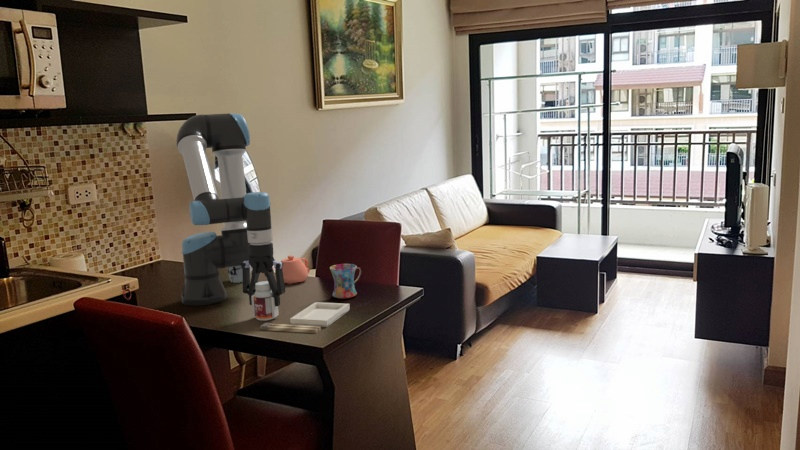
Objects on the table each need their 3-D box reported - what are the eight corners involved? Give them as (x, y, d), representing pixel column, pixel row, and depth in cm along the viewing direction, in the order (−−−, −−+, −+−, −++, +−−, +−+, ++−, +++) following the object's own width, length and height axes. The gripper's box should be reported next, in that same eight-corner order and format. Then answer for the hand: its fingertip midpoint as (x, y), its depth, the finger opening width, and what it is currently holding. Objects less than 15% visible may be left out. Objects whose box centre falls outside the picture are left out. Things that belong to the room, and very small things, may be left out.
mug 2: (341, 301, 218) (339, 271, 216) (326, 296, 225) (324, 267, 223) (369, 294, 225) (368, 264, 224) (354, 290, 232) (352, 261, 231)
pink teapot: (270, 282, 250) (268, 256, 248) (301, 275, 259) (299, 250, 257) (286, 287, 241) (285, 260, 239) (318, 280, 249) (316, 254, 248)
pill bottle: (252, 319, 202) (249, 283, 200) (267, 314, 207) (265, 279, 205) (264, 322, 198) (261, 286, 196) (280, 317, 203) (277, 282, 201)
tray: (290, 325, 194) (290, 318, 194) (315, 308, 211) (315, 302, 211) (327, 327, 191) (327, 320, 191) (349, 309, 208) (349, 303, 208)
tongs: (260, 329, 191) (260, 325, 191) (265, 326, 194) (265, 322, 194) (316, 333, 186) (316, 329, 186) (321, 329, 189) (320, 325, 189)
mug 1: (220, 282, 252) (218, 257, 251) (247, 274, 265) (245, 250, 264) (240, 285, 247) (238, 259, 246) (266, 276, 260) (264, 251, 259)
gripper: (226, 244, 198) (232, 317, 202) (282, 245, 192) (287, 320, 196) (239, 240, 205) (245, 310, 209) (293, 241, 199) (298, 313, 203)
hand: (265, 315), depth 202 cm, fingers closed on pill bottle, 6 cm apart
